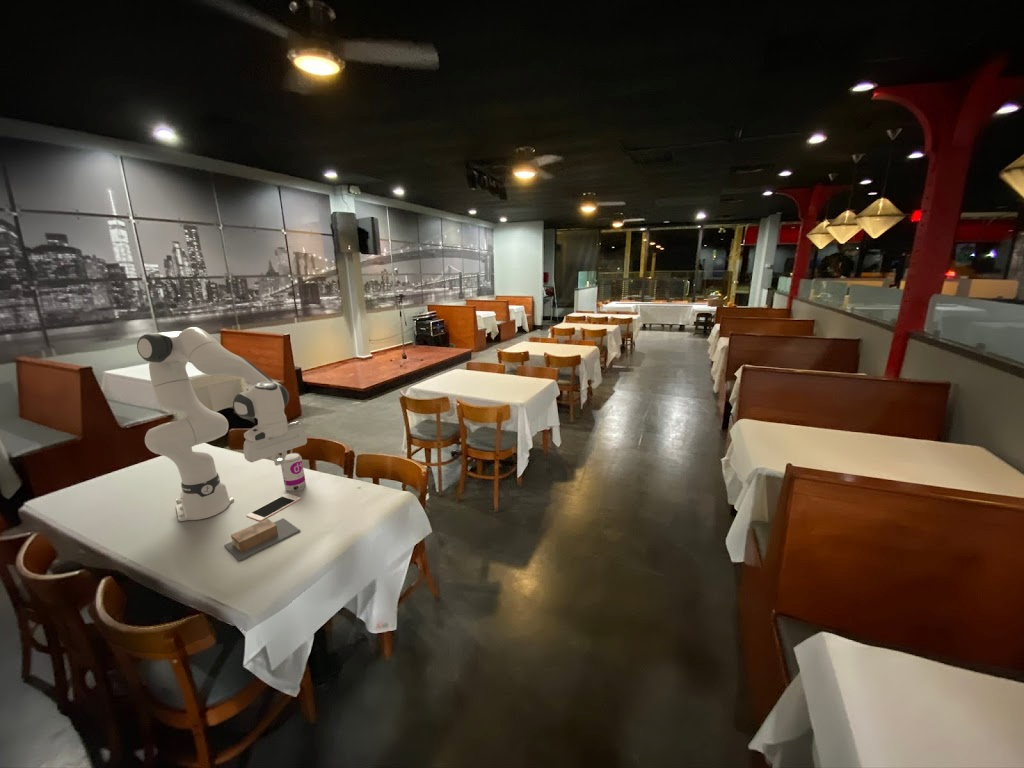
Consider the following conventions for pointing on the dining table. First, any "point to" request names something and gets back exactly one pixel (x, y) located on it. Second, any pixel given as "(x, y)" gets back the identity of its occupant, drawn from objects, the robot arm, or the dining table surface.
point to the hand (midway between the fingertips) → (280, 464)
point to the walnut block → (254, 535)
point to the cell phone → (273, 507)
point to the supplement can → (293, 472)
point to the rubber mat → (284, 532)
